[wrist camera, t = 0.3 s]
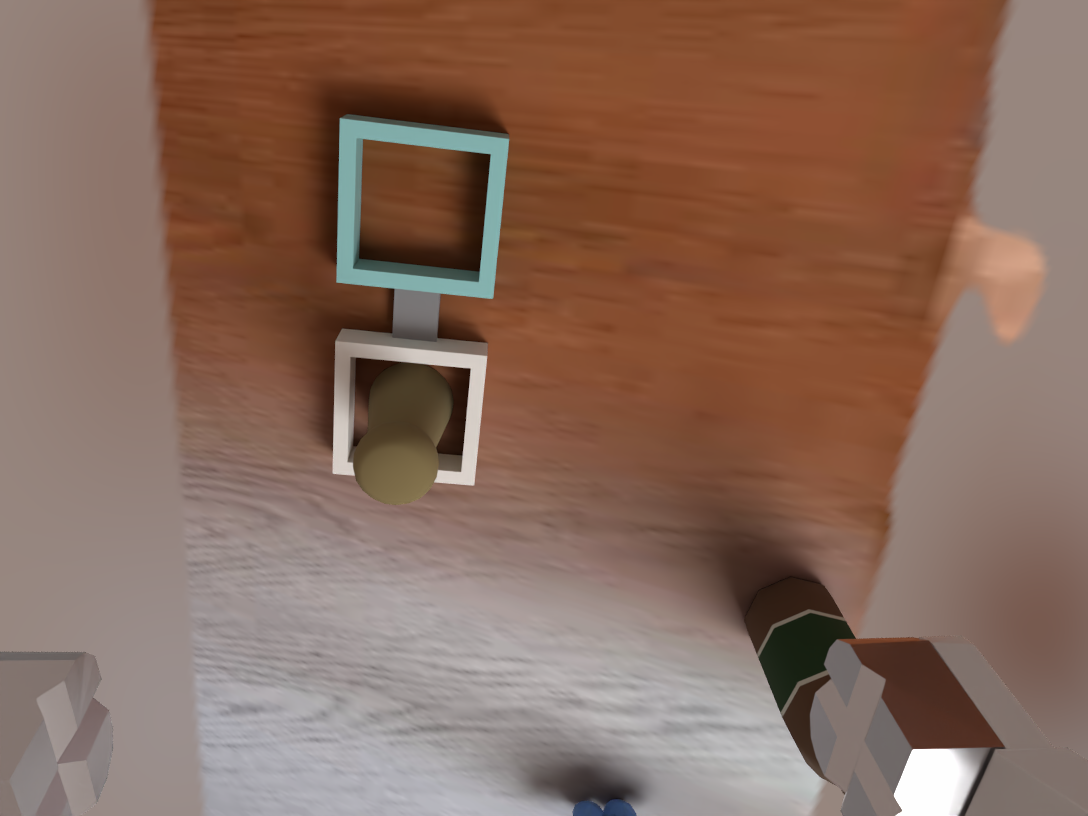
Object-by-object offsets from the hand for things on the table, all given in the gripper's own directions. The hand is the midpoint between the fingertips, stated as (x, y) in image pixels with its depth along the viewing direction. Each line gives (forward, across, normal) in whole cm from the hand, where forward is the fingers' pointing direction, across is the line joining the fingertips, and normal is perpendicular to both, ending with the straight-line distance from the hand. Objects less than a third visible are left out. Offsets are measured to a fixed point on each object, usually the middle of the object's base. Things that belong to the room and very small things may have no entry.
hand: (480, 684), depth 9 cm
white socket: (+47, +3, +19) cm, 50 cm away
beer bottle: (+44, -28, +38) cm, 65 cm away
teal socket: (+47, +2, +7) cm, 48 cm away
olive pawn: (+47, +3, +21) cm, 51 cm away
